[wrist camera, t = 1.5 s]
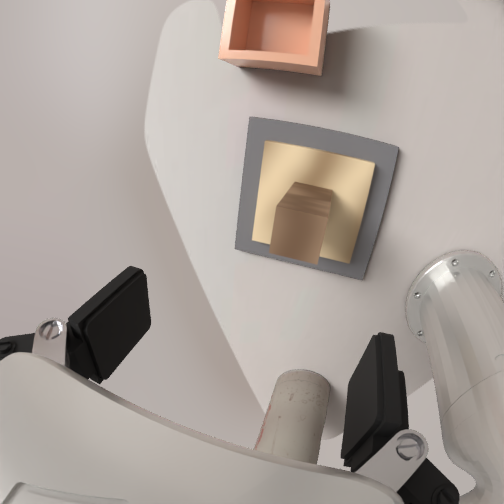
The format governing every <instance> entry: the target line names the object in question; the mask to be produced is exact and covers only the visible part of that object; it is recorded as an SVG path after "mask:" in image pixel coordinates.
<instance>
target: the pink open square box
mask: <svg viewBox="0 0 504 504" xmlns="http://www.w3.org/2000/svg"><path fill="white" fill-rule="evenodd" d="M329 10H330V0H227V2H226V8H225V15H224V21H223V28H222V35H221V42H220V49H219V56H218V59H221V60H223V61H226V62H228V63H230V64H233V65H235V66H237V67H248V68H262V69H273V70H282V71H290V72H298V73H305V74H312V75H318V76H322V68H323V61H324V53H325V45H326V37H327V27H328V19H329Z"/></svg>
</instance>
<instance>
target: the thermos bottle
mask: <svg viewBox="0 0 504 504" xmlns="http://www.w3.org/2000/svg"><path fill="white" fill-rule="evenodd" d="M329 393H330V386H329V383H328V382H327V380H326V379H325V378H324V377H322V376H321V375H319V374H317V373H315V372H312V371H308V370H291V371H288V372H285V373H283V374H282V375H281V376H280V377H279V378H278V380H277V382H276V385H275V388H274V391H273V394H272V397H271V400H270V403H269V406H268V409H267V412H266V415H265V418H264V421H263V424H262V427H261V430H260V433H259V436H258V439H257V442H256V445H255V447H254V450H256V451H260V452H264V453H268V454H271V455H275V456H280V457H284V458H288V459H292V460H297V461H301V462H306V463H311V464H316V465H317V460H318V455H319V450H320V441H321V436H322V432H323V428H324V423H325V418H326V412H327V406H328V399H329Z"/></svg>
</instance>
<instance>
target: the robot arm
mask: <svg viewBox="0 0 504 504" xmlns="http://www.w3.org/2000/svg"><path fill="white" fill-rule="evenodd" d="M452 260H453V261H452ZM501 294H502V283H501V278H500V275H499V272H498V270H497V269H496V267H495V266H494V264H493V263H492V262H491V261H490V260H489V259H488V258H487V257H486V256H484V255H482V254H481V253H478V252H475V251H468V250H462V251H454V252H451V253H448V254H445V255H443V256H441V257H439V258H438V259H436V260H434V261H433V262H432V263H430V264H429V265H428V266H426V267H425V269H424V270H423V271H422V272H421V273H420V274H419V275H418V276H417V278H416V279H415V281H414V282H413V284H412V286H411V288H410V290H409V292H408V296H407V300H406V309H405V310H406V318H407V322H408V326H409V328H410V330H411V331H412V333H413V334H414V335H415V337H416V338H418V339H419V340H421V341H422V342H424V343H426V345H427V349H428V354H429V358H430V363H431V368H432V373H433V378H434V383H435V388H436V395H437V402H438V408H439V415H440V423H441V430H442V439H443V444H444V448H445V451H446V453H447V455H448V457H449V459H450V460H451V461H452V462H453V463H454V464H455V465H456V466H458V467H459V468H461V469H462V470H464V471H466V472H467V473H469V474H470V475H471V476H472V477H473V478H474V479H475V481H476V486H475V487H474V489H473V490H471V491H470V492H468V493H466V494H464V495H462V496H460V497H459V492H458V490H457V488H456V487H455V485H454V484H453V483H451V482H450V481H449V480H448V479H447V478H446V477H445V476H444V475H443V474H442V473H441V472H440V471H439V470H438V469H437V468H436V467H435V466H434V465H433V464H432V463H431V462H430V461H429V460H428V459H427V458H426V456H427V454H428V443H427V441H426V439H425V438H424V436H423V435H421V434H420V433H419V432H417V431H415V430H411V429H410V430H409V424H408V408H407V396H406V385H405V376H404V373H403V371H399V370H398V365H397V357H396V348H395V341H394V336H393V335H391V334H386V333H381V332H379V333H378V335H373V336H372V338H371V340H370V342H369V344H368V346H367V348H366V350H365V352H364V354H363V356H362V358H361V360H360V362H359V364H358V366H357V368H356V369H355V371H354V373H353V375H352V377H351V379H350V381H349V384H348V393H347V404H346V415H345V425H344V433H343V442H342V449H341V458H342V459H344V466H347V467H351V472H349V471H345V470H341V469H335V468H331V467H326V466H321V465H316V464H311V463H306V462H301V461H297V460H292V459H288V458H284V457H280V456H275V455H271V454H268V453H264V452H260V451H256V450H252V449H249V448H246V447H242V446H239V445H236V444H232V443H230V442H226V441H223V440H220V439H217V438H215V437H212V436H208V435H206V434H203V433H201V432H198V431H195V430H193V429H190V428H187V427H185V426H182V425H180V424H177V423H175V422H172V421H170V420H168V419H165V418H163V417H161V416H158V415H156V414H154V413H152V412H150V411H147V410H145V409H143V408H141V407H139V406H137V405H135V404H133V403H131V402H129V401H126V400H125V399H123V398H121V397H119V396H117V395H115V394H113V393H111V392H109V391H107V390H105V389H104V388H102V387H100V386H98V385H97V384H95V383H93V382H91V381H89V380H88V379H89V378H90V379H92V380H93V381H95V382H97V383H99V384H100V383H101V382H102V381H103V380H104V379H105V380H106V379H108V378H109V377H110V375H111V374H112V373H113V372H114V370H115V369H116V368H117V367H118V366H119V364H120V363H121V362H122V361H123V360H124V358H125V357H126V356H127V355H128V354H129V352H130V351H131V350H132V349H133V347H134V346H135V345H136V344H137V343H138V342H139V340H140V339H141V338H142V337H143V336H144V334H145V333H146V332H147V331H148V330H149V328H150V325H151V317H150V308H149V299H148V288H147V278H146V274H144V272H143V270H142V269H139V268H136V267H133V266H129V267H128V268H126V269H125V270H124V271H123V272H121V273H120V274H119V275H118V276H117V277H115V278H114V279H113V280H112V281H111V282H109V283H108V284H107V285H106V286H105V287H103V288H102V289H101V290H100V291H99V292H97V293H96V294H95V295H94V296H93V297H92V298H90V299H89V300H88V301H87V302H86V303H85V304H83V305H82V306H81V307H80V308H79V309H78V310H77V311H75V312H74V313H73V314H72V315H71V316H70V317H69V318H68V321H69V322H67V323H65V322H64V321H63V320H61V319H58V318H50V319H47V320H45V321H43V322H41V323H40V324H39V325H38V327H37V328H36V331H35V333H32V334H25V335H17V336H10V337H5V338H2V339H0V504H504V302H503V301H502V299H501Z"/></svg>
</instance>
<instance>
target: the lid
mask: <svg viewBox="0 0 504 504" xmlns="http://www.w3.org/2000/svg"><path fill="white" fill-rule="evenodd" d="M374 167H375V163H374V162H371V161H367V160H363V159H359V158H355V157H351V156H347V155H342V154H338V153H334V152H329V151H324V150H320V149H315V148H310V147H305V146H299V145H294V144H288V143H283V142H277V141H271V140H266V141H265V144H264V151H263V159H262V166H261V174H260V182H259V189H258V197H257V205H256V212H255V220H254V227H253V235H252V240H253V241H258V242H262V243H266V244H270V248H269V253H271V254H275V255H279V256H284V257H288V258H292V259H296V260H300V261H304V262H308V263H312V264H316V265H317V264H318V260H319V256H320V257H324V258H328V259H332V260H336V261H341V262H345V263H350V260H351V257H352V253H353V250H354V246H355V243H356V239H357V236H358V232H359V228H360V225H361V221H362V217H363V213H364V209H365V205H366V201H367V197H368V193H369V189H370V185H371V180H372V176H373V171H374Z"/></svg>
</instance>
